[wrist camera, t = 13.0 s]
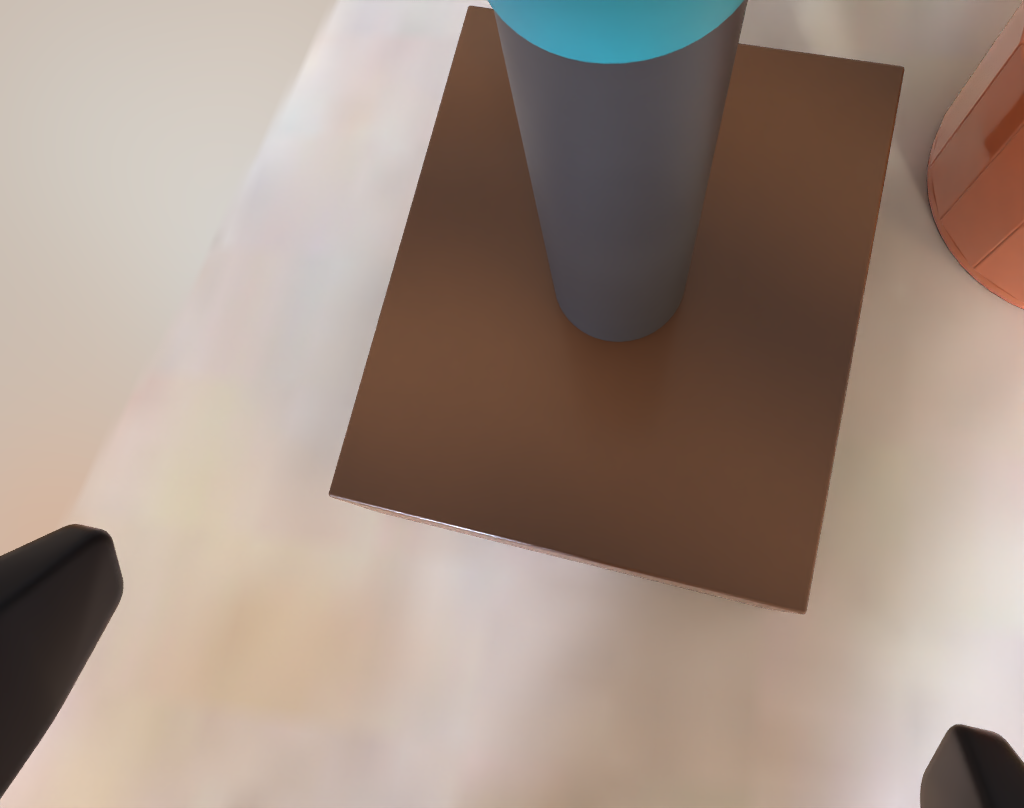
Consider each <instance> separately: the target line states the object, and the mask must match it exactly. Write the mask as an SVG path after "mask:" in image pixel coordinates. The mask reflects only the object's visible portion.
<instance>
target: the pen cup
mask: <svg viewBox="0 0 1024 808" xmlns="http://www.w3.org/2000/svg"><path fill="white" fill-rule="evenodd" d="M927 187H928V196H929V202H930V206H931V210H932V214H933V218H934V220H935V223H936V225H937V228H938V230H939V232H940V235H941V236H942V238H943V240H944V242H945V243H946V245H947V247H948V248H949V250H950V252H951V253H952V254H953V255H954V257H955V258H956V259H957V261H958V262H959V263H960V264H961V266H962V267H963V268H964V269H965V270H966V271H967V272H968V273H969V274H970V275H971V276H972V277H973V278H974V279H975V280H977V281H978V282H979V283H980V284H982V285H983V286H984V287H986V288H987V289H988V290H989V291H991V292H992V293H994V294H995V295H997V296H999V297H1000V298H1002V299H1004V300H1005V301H1007V302H1009V303H1011V304H1013V305H1015V306H1017V307H1019V308H1022V309H1024V0H1023V1H1022V3H1021V4H1020V6H1019V7H1018V9H1017V10H1016V11H1015V13H1014V14H1013V16H1012V17H1011V19H1010V20H1009V22H1008V23H1007V25H1006V26H1005V27H1004V29H1003V30H1002V32H1001V33H1000V35H999V36H998V38H997V39H996V41H995V42H994V44H993V45H992V46H991V48H990V49H989V51H988V52H987V54H986V55H985V57H984V58H983V60H982V61H981V62H980V64H979V65H978V67H977V68H976V70H975V71H974V73H973V74H972V76H971V77H970V78H969V80H968V81H967V83H966V84H965V86H964V87H963V89H962V90H961V92H960V93H959V94H958V96H957V97H956V99H955V100H954V102H953V103H952V105H951V106H950V108H949V109H948V110H947V112H946V113H945V115H944V117H943V120H942V123H941V126H940V128H939V130H938V132H937V134H936V137H935V139H934V142H933V145H932V148H931V152H930V157H929V162H928V173H927Z"/></svg>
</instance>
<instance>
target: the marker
mask: <svg viewBox="0 0 1024 808" xmlns="http://www.w3.org/2000/svg"><path fill="white" fill-rule="evenodd" d="M488 1H489V3H490V5H491V6H492V8H493V9H494V13H495V18H496V23H497V27H498V32H499V36H500V41H501V46H502V50H503V55H504V59H505V64H506V68H507V73H508V78H509V82H510V87H511V91H512V96H513V101H514V105H515V110H516V114H517V119H518V124H519V128H520V133H521V137H522V142H523V147H524V151H525V156H526V160H527V165H528V170H529V174H530V179H531V183H532V188H533V193H534V197H535V202H536V206H537V211H538V216H539V220H540V225H541V229H542V234H543V239H544V243H545V248H546V252H547V257H548V262H549V266H550V271H551V275H552V280H553V284H554V289H555V293H556V298H557V301H558V303H559V306H560V308H561V309H562V311H563V313H564V314H565V316H566V317H567V318H568V320H569V321H570V322H571V323H572V324H573V325H574V326H576V327H577V328H578V329H580V330H581V331H583V332H584V333H586V334H588V335H590V336H592V337H595V338H598V339H601V340H605V341H612V342H624V341H632V340H636V339H640V338H642V337H645V336H648V335H650V334H651V333H653V332H655V331H657V330H658V329H659V328H661V327H662V326H663V325H664V324H665V323H667V322H668V321H669V319H670V318H671V317H672V316H673V315H674V313H675V312H676V310H677V308H678V307H679V305H680V302H681V300H682V297H683V294H684V290H685V285H686V281H687V276H688V272H689V267H690V263H691V258H692V253H693V249H694V244H695V240H696V235H697V230H698V226H699V221H700V217H701V212H702V207H703V203H704V198H705V194H706V189H707V185H708V180H709V175H710V171H711V166H712V162H713V157H714V152H715V148H716V143H717V139H718V134H719V129H720V125H721V120H722V116H723V111H724V106H725V102H726V97H727V93H728V88H729V84H730V79H731V74H732V70H733V65H734V61H735V56H736V51H737V47H738V42H739V38H740V33H741V28H742V24H743V19H744V15H745V10H746V6H747V1H748V0H488Z"/></svg>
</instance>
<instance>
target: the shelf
mask: <svg viewBox="0 0 1024 808" xmlns="http://www.w3.org/2000/svg"><path fill="white" fill-rule="evenodd" d="M903 75H904V67H902V66H895V65H888V64H881V63H874V62H867V61H860V60H853V59H846V58H838V57H831V56H824V55H817V54H810V53H803V52H796V51H789V50H782V49H774V48H767V47H760V46H753V45H746V44H739V43H738V47H737V51H736V56H735V61H734V65H733V70H732V74H731V79H730V84H729V88H728V93H727V97H726V102H725V106H724V111H723V116H722V120H721V125H720V129H719V134H718V139H717V143H716V148H715V152H714V157H713V162H712V166H711V171H710V175H709V180H708V185H707V189H706V194H705V198H704V203H703V207H702V212H701V217H700V221H699V226H698V230H697V235H696V240H695V244H694V249H693V253H692V258H691V263H690V267H689V272H688V276H687V281H686V285H685V290H684V294H683V297H682V300H681V302H680V305H679V307H678V308H677V310H676V312H675V313H674V315H673V316H672V317H671V318H670V319H669V321H668V322H667V323H665V324H664V325H663V326H662V327H661V328H659V329H658V330H657V331H655V332H653V333H651V334H650V335H648V336H645V337H642V338H640V339H636V340H632V341H624V342H612V341H605V340H601V339H598V338H595V337H592V336H590V335H588V334H586V333H584V332H583V331H581V330H580V329H578V328H577V327H576V326H574V325H573V324H572V323H571V322H570V321H569V320H568V318H567V317H566V316H565V314H564V313H563V311H562V309H561V308H560V306H559V303H558V301H557V298H556V293H555V289H554V284H553V280H552V275H551V271H550V266H549V262H548V257H547V252H546V248H545V243H544V239H543V234H542V229H541V225H540V220H539V216H538V211H537V206H536V202H535V197H534V193H533V188H532V183H531V179H530V174H529V170H528V165H527V160H526V156H525V151H524V147H523V142H522V137H521V133H520V128H519V124H518V119H517V114H516V110H515V105H514V101H513V96H512V91H511V87H510V82H509V78H508V73H507V68H506V64H505V59H504V55H503V50H502V46H501V41H500V36H499V32H498V27H497V23H496V18H495V13H494V9H490V8H483V7H476V6H469V7H468V10H467V13H466V16H465V20H464V23H463V27H462V30H461V34H460V37H459V41H458V44H457V48H456V51H455V55H454V58H453V62H452V65H451V69H450V72H449V76H448V79H447V83H446V86H445V90H444V93H443V97H442V100H441V104H440V107H439V111H438V114H437V118H436V121H435V125H434V128H433V132H432V135H431V139H430V142H429V146H428V149H427V153H426V156H425V160H424V163H423V167H422V170H421V174H420V177H419V180H418V184H417V187H416V191H415V194H414V198H413V201H412V205H411V208H410V212H409V215H408V219H407V222H406V226H405V229H404V233H403V236H402V240H401V243H400V247H399V250H398V254H397V257H396V261H395V264H394V268H393V271H392V275H391V278H390V282H389V285H388V289H387V292H386V296H385V299H384V303H383V306H382V310H381V313H380V317H379V320H378V324H377V327H376V331H375V334H374V338H373V341H372V345H371V348H370V351H369V355H368V358H367V362H366V365H365V369H364V372H363V376H362V379H361V383H360V386H359V390H358V393H357V397H356V400H355V404H354V407H353V411H352V414H351V418H350V421H349V425H348V428H347V432H346V435H345V439H344V442H343V446H342V449H341V453H340V456H339V460H338V463H337V467H336V470H335V474H334V477H333V481H332V484H331V488H330V491H329V496H330V497H333V498H336V499H339V500H342V501H345V502H348V503H352V504H355V505H358V506H361V507H364V508H367V509H371V510H374V511H377V512H380V513H384V514H388V515H392V516H396V517H400V518H404V519H408V520H412V521H416V522H420V523H424V524H428V525H432V526H436V527H440V528H444V529H448V530H452V531H456V532H460V533H464V534H468V535H472V536H476V537H480V538H484V539H488V540H492V541H496V542H500V543H504V544H508V545H512V546H516V547H520V548H524V549H528V550H532V551H537V552H541V553H545V554H549V555H553V556H557V557H561V558H565V559H569V560H573V561H577V562H581V563H585V564H589V565H593V566H597V567H601V568H605V569H609V570H613V571H617V572H621V573H625V574H629V575H633V576H637V577H641V578H645V579H649V580H653V581H657V582H661V583H665V584H669V585H673V586H677V587H681V588H685V589H689V590H693V591H697V592H701V593H705V594H709V595H713V596H717V597H721V598H725V599H729V600H733V601H737V602H741V603H745V604H749V605H753V606H757V607H761V608H765V609H770V610H777V611H784V612H791V613H798V614H805V613H806V611H807V606H808V600H809V595H810V589H811V583H812V578H813V572H814V567H815V561H816V556H817V550H818V545H819V539H820V534H821V528H822V523H823V517H824V512H825V506H826V501H827V495H828V490H829V484H830V478H831V473H832V467H833V462H834V456H835V451H836V445H837V440H838V434H839V429H840V423H841V418H842V412H843V407H844V401H845V396H846V390H847V384H848V379H849V373H850V368H851V362H852V357H853V351H854V346H855V340H856V335H857V329H858V324H859V318H860V313H861V307H862V302H863V296H864V291H865V285H866V279H867V274H868V268H869V263H870V257H871V252H872V246H873V241H874V235H875V230H876V224H877V219H878V213H879V208H880V202H881V197H882V191H883V186H884V180H885V174H886V169H887V163H888V158H889V152H890V147H891V141H892V136H893V130H894V125H895V119H896V114H897V108H898V103H899V97H900V92H901V86H902V80H903Z"/></svg>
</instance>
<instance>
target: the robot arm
mask: <svg viewBox="0 0 1024 808" xmlns="http://www.w3.org/2000/svg"><path fill="white" fill-rule="evenodd" d="M122 593H123V577H122V574H121V570H120V566H119V562H118V559H117V555H116V551H115V548H114V544H113V540H112V538H111V536H110V535H109V534H108V533H107V532H106V531H104V530H102V529H97V528H93V527H89V526H84V525H79V524H72V525H68V526H65V527H62V528H60V529H58V530H56V531H54V532H52V533H49V534H47V535H45V536H43V537H41V538H39V539H37V540H34V541H32V542H30V543H28V544H26V545H23V546H21V547H19V548H17V549H15V550H13V551H11V552H8V553H6V554H4V555H2V556H0V799H1V797H2V796H3V794H4V793H5V791H6V790H7V789H8V787H9V786H10V784H11V783H12V781H13V780H14V778H15V777H16V775H17V774H18V773H19V771H20V770H21V768H22V767H23V765H24V764H25V762H26V761H27V760H28V758H29V757H30V755H31V754H32V752H33V751H34V749H35V748H36V746H37V745H38V744H39V742H40V741H41V739H42V737H43V736H44V734H45V733H46V731H47V730H48V728H49V727H50V725H51V724H52V722H53V721H54V719H55V717H56V716H57V714H58V712H59V710H60V709H61V707H62V705H63V704H64V702H65V700H66V698H67V697H68V695H69V693H70V691H71V689H72V688H73V686H74V684H75V682H76V680H77V679H78V677H79V675H80V673H81V671H82V670H83V668H84V666H85V664H86V662H87V660H88V659H89V657H90V655H91V653H92V651H93V650H94V648H95V646H96V644H97V642H98V641H99V639H100V637H101V635H102V633H103V632H104V630H105V628H106V626H107V624H108V623H109V621H110V619H111V617H112V615H113V614H114V612H115V610H116V608H117V606H118V604H119V602H120V600H121V597H122ZM920 807H921V808H1024V762H1023V761H1022V760H1021V759H1020V757H1019V756H1018V755H1017V753H1016V752H1015V751H1014V750H1013V748H1012V747H1011V746H1010V744H1009V743H1008V742H1007V741H1006V740H1005V739H1004V738H1003V737H1002V736H1000V735H999V734H997V733H995V732H992V731H988V730H984V729H979V728H975V727H970V726H966V725H962V724H956V725H954V726H952V727H951V728H949V730H948V731H947V732H946V734H945V736H944V738H943V739H942V741H941V743H940V745H939V747H938V748H937V750H936V752H935V754H934V756H933V757H932V759H931V761H930V763H929V765H928V766H927V768H926V770H925V772H924V775H923V778H922V783H921V790H920Z"/></svg>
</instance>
